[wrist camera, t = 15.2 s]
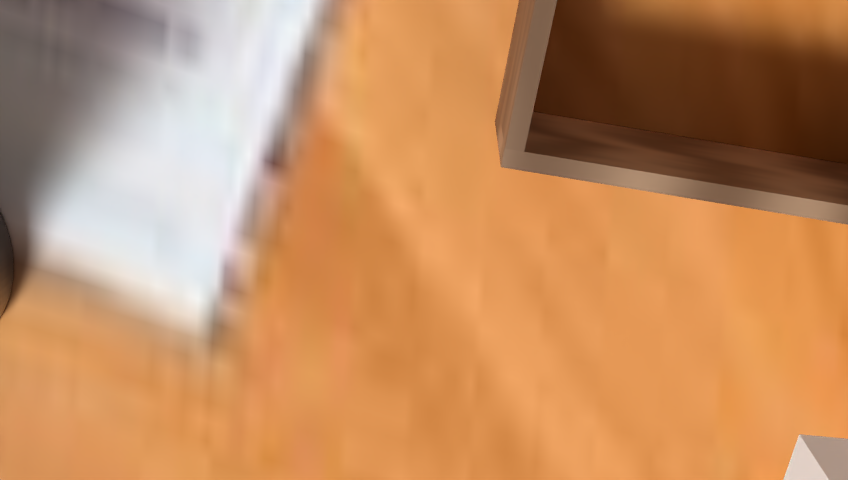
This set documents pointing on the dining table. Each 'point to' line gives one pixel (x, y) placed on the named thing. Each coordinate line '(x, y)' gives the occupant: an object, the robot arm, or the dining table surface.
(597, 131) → the crate
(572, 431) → the dining table surface
